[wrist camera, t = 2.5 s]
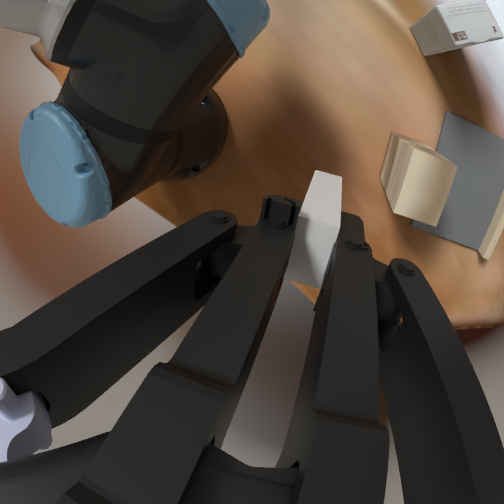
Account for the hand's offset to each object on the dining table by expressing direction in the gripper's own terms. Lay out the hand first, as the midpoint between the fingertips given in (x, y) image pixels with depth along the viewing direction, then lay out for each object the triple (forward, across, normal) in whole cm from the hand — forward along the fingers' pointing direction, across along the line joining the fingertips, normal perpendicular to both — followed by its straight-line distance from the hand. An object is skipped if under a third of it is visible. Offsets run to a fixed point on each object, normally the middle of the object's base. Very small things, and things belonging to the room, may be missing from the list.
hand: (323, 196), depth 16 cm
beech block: (+22, +9, 0) cm, 23 cm away
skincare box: (+22, +10, +17) cm, 29 cm away
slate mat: (+22, +19, 0) cm, 29 cm away
